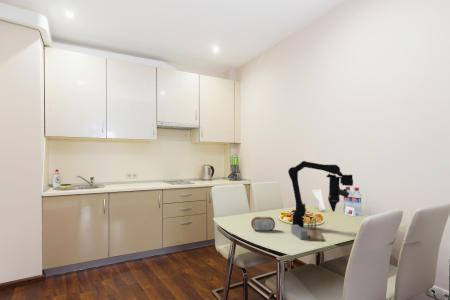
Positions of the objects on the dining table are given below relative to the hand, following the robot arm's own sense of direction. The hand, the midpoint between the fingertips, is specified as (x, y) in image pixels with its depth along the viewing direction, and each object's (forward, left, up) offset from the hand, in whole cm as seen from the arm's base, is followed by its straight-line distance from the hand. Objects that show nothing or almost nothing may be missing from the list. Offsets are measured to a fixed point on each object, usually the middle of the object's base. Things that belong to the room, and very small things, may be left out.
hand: (333, 209), depth 159 cm
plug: (-22, -13, -14) cm, 29 cm away
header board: (-13, -10, -13) cm, 22 cm away
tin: (-43, -6, -14) cm, 46 cm away
